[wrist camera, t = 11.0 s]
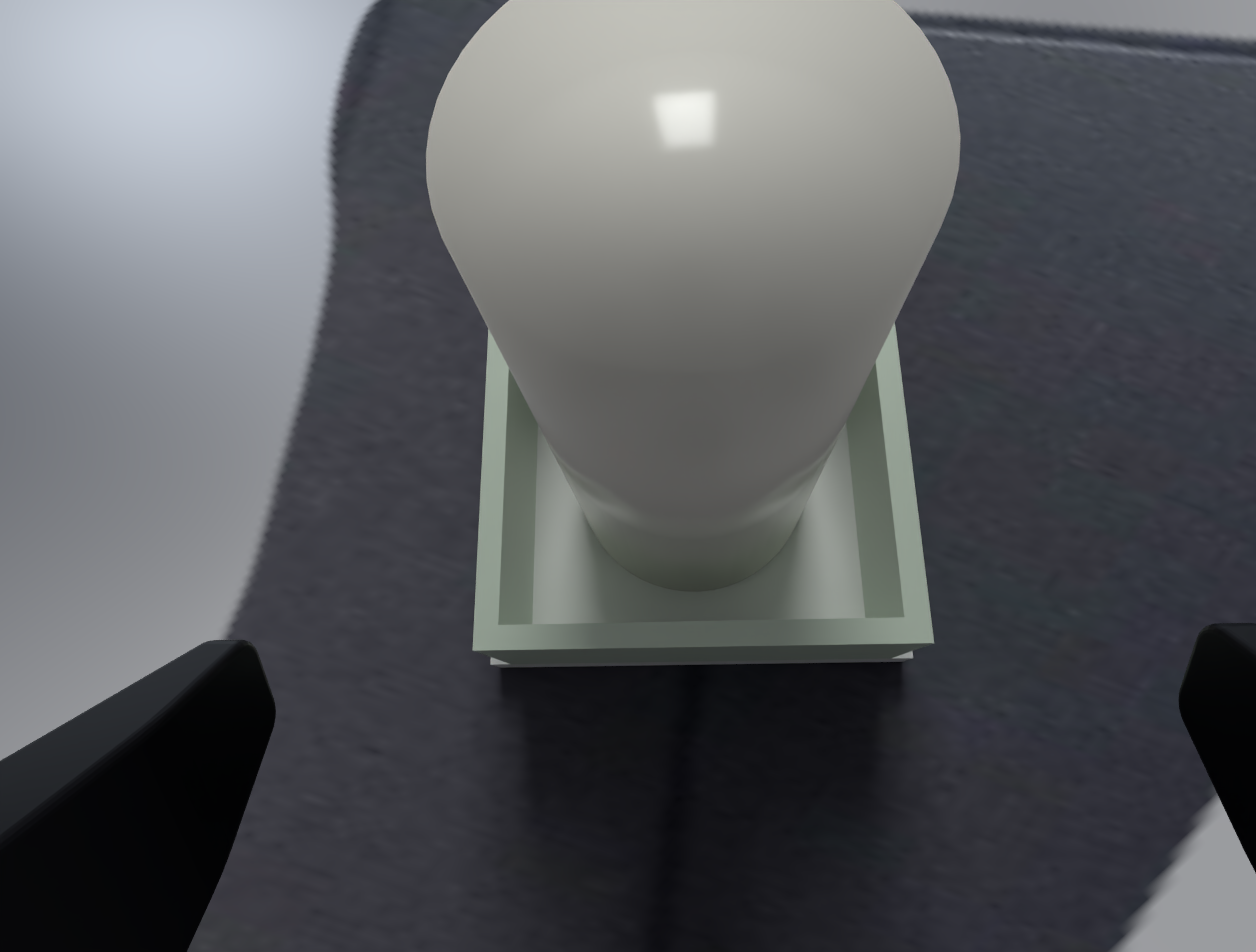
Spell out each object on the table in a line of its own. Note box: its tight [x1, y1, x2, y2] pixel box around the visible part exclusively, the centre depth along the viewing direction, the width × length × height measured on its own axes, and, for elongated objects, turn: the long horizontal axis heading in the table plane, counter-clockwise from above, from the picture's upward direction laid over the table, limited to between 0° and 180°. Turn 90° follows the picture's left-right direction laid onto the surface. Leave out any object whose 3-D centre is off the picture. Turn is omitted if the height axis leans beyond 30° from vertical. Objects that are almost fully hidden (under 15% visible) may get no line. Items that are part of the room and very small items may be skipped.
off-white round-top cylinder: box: [426, 0, 960, 592], centre depth 14 cm, size 6×6×12 cm
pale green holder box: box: [473, 322, 934, 668], centre depth 20 cm, size 13×10×5 cm
